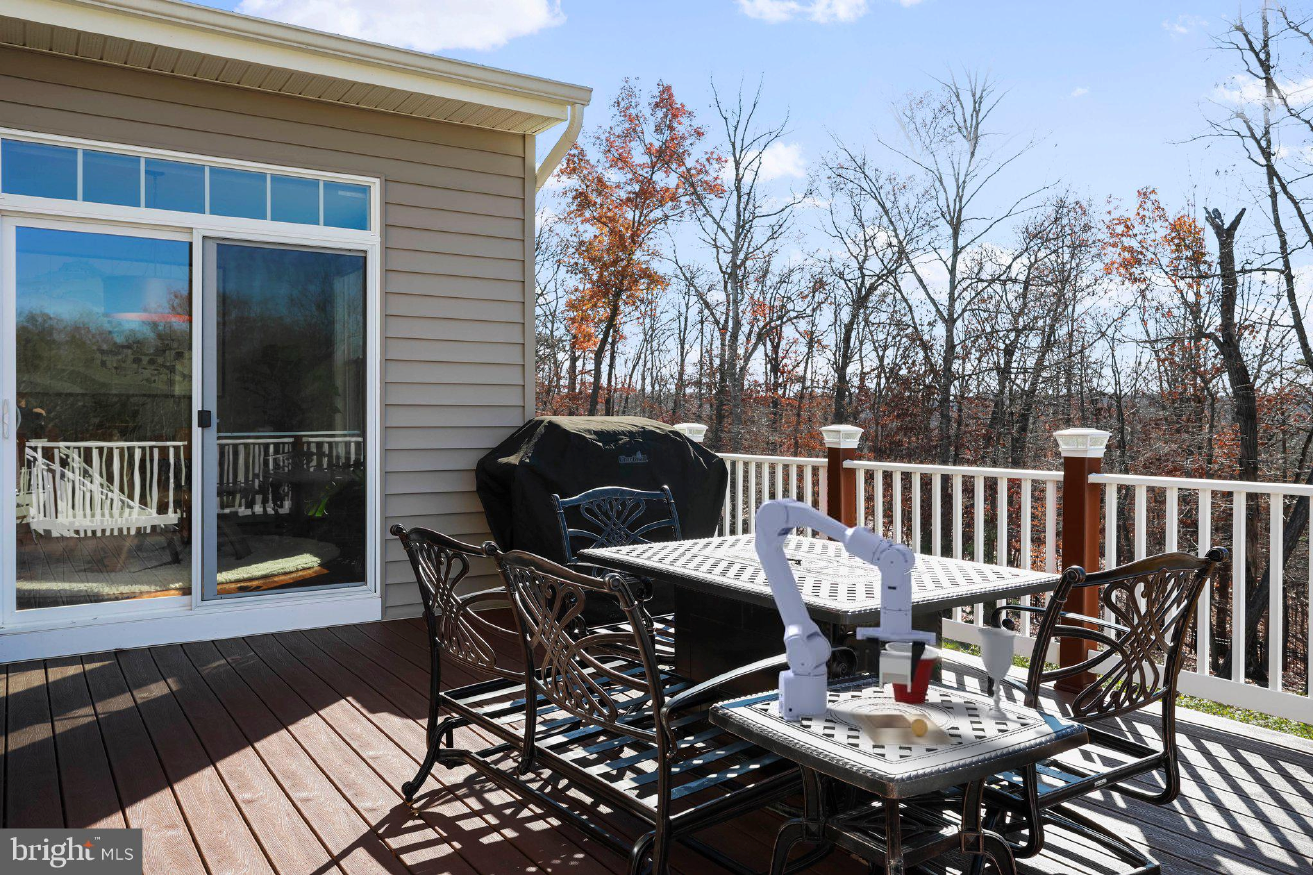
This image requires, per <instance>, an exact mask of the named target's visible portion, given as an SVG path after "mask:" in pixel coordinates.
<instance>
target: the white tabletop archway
mask: <svg viewBox="0 0 1313 875" xmlns="http://www.w3.org/2000/svg"><path fill="white" fill-rule="evenodd" d="M884 683H888V684H889V683H890V684H892V683H897V684H908V692H910V690H911V653H905V652H893V651H887V650H880V679H879V686H878V687H879V690H883V687H884Z"/></svg>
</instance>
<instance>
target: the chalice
mask: <svg viewBox="0 0 1313 875" xmlns="http://www.w3.org/2000/svg"><path fill="white" fill-rule="evenodd" d="M977 631H978V634H979V635H980V657H981V660H982V663H983V666H984V668H985V670H986V672H987V674H988V676H989V677H990V678H991V679H993V687H992V688H991V689H992V691H993V693H994V695H993V697H992V700H993V703H994V705H993V707H992V709H989V710H988V711H987V712H986V715H985V717H986V719H989V720H992V721H999V722H1006V721H1008V720H1009V718H1008V714H1007V713H1006V712H1005V711H1004V710H1002V709H1001V707H1000V703H1001V701H1002V698H1001V696H1000V692H1001V691H1002V688H1001V685H1000V683H1001V682H1000V681H1001V680H1003V679H1005V678H1006V676H1007V674H1008V673H1009V670H1010V669H1011V666H1012V663H1013V662H1014V651H1015V650H1014V639H1015V637H1016V635H1017V632H1015V631H1013V630H1010V629H1007V628H1005V629H1004V628H999V627H981V628H979V629H977Z"/></svg>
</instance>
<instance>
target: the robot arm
mask: <svg viewBox="0 0 1313 875" xmlns="http://www.w3.org/2000/svg"><path fill="white" fill-rule="evenodd" d="M753 518H754V522H755V524H756V525H755V537H754V549H755V552H756V554H757V556H758V559H759V562H760V564H761V567H762V570H763V572H764V575H765V577H766V580H767V583H768V585H769V588H770V590H771V593H772V596H773V599H774V601H775V604H776V606H777V609H778V612H779V614H780V616H781V619H782V622H783V625H784V627H785V632H784V636H783V642H784V644H785V649H786V651H785V652H786V654H785V659H786V662H787V665H788V666H789V668H790V669H788V670H783V671H780V672H779V676H778V708H777V709H778V710H779V712H780V714H781V716H782V718H783V719H784V721H787V722H789V721H800V722H801V721H802V720H801V718H800V717H799V715H805V716H818V715H823V714H825V713H826V712H827V709H828V707H827V706H828V704H827V703H828V702H827V701H828V695H827V694H828V680H827V679H828V668H827V665H826V662H828V660H829V659H830V657H831V655H832V654H831V653H832V647H831V644H830V642H829V640H828V639H827V637H825V635H823V633H822V632H821V629H820V628H819V626H818V625H817V624H816V623H815V622H814V621H813V620H812V619H811V618H810V614H809V612H808V610H807V609H808V608H807V607H806V604H805V602H804V600H803V597H802V594H801V591H800V590H799V587H798V583H797V582H796V578H795V576H794V574H793V571H792V569H791V566H790V564H789V560H788V558H787V555H786V553H785V550H784V548H783V546H784V544H785V542H786V540H787V538H788V536H789V534H790V533H791V532H792V531H793V530H794V529H795V528H800V527H802V528H803V527H805V528H806V527H807V528H809V529H812V530H814V531H816V532H818V533H821V534H822V535H824V536H827V537H829V538H831V539H833V540H836V541H838V542H840V543H842V544H843V545H842V546H843V547H844V550H845V552H846V553H848V554H850V555H852V556H854V557H856V558H858V559H860V560H862V561H863V562H866V563H868V564H870V565H871V566H874V567H877V569H878V571H879V572H880V573H881V575H880V578H881V580H880V582H881V583H880V624H879V627H859V626H858V627H857V628H856V640H865V645H866V648H867V650H868V652H869V654H870V657H871V659H872V660H871V661H872V663H873V666H874V671H875V676H876V677H875V678H876V679H877V680H880V654H881V641H884V642H885V641H887V642H896V643H910V644H912V665H911V682H914V678H915V673H916V669H917V666H918V664H919V661H920V659H921V657H922V655H923V653H924V651H925V647H926V645H929V646H936V644H937V643H936V639H937V638H936V637H937V636H936V632H927V631H922V630H921V631H920V630H914V629H912V606H913V605H912V602H913V601H912V600H913V599H912V590H913V589H912V588H913V585H912V571H911V570H912V569H913V568H914V566H915V564H916V556H915V553H914V551H913V550H912V549H911V548H910V547H909V546H907V545H906V544H905V543H903V542H902V543H900V542H897V543H894V539H893V538H891V537H888V538H885V537H883V536H881V535H879V534H877V533H875V532H873V531H872V527H871V526H868V525H864V526H863V527H862V526H860V525H856V526H854V527H848V526H847V525H846V524H843V523H841V522H839V521H838V520H836V519H834V518H832V517H831V516H830V515H827V514H825V513H823V512H821V511H820V510H818V509H816V508H814V507H812V506H811V505H809V504H807V503H806V502H802V501H798V500H796V499H795V498H793V497H784V498H780V499H768V500H765V501H763V503H761V504H760V506H759V508H758V509H757V512H756V513H755V515H754V517H753Z"/></svg>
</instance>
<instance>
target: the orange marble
mask: <svg viewBox="0 0 1313 875" xmlns="http://www.w3.org/2000/svg"><path fill="white" fill-rule="evenodd" d="M911 730H912V732H913V733H914V734H915V735H917V736H923V735H925V734H926V733H927V731H928V726H927V723H926V722H925V721H924V720H922V719H915V720H914V721H913V722H912V723H911Z"/></svg>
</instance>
